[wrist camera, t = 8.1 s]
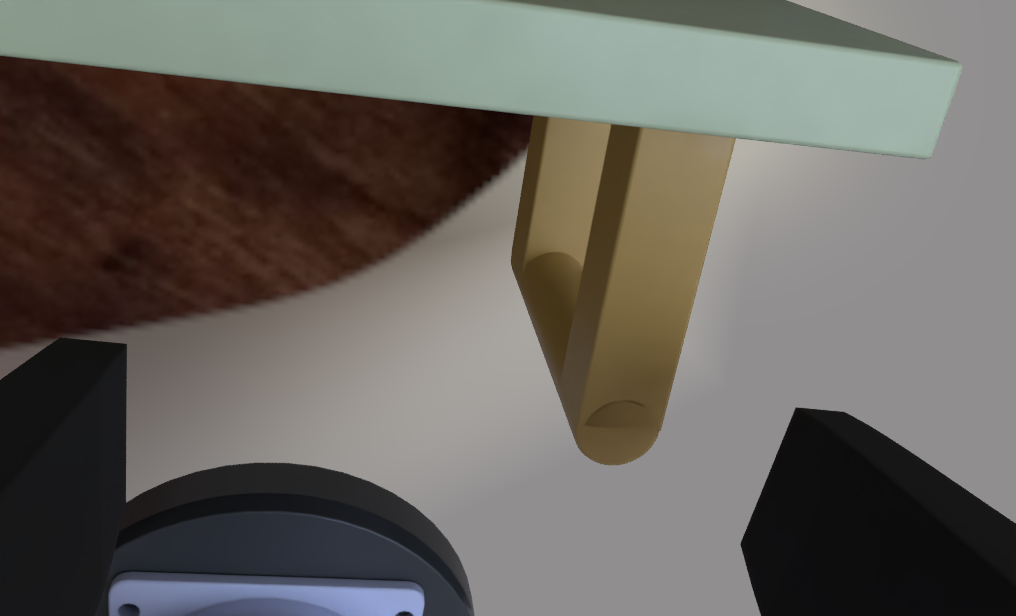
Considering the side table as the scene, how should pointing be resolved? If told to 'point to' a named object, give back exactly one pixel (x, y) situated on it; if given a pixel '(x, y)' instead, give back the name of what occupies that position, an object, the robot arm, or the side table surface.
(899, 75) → the door
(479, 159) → the side table surface
